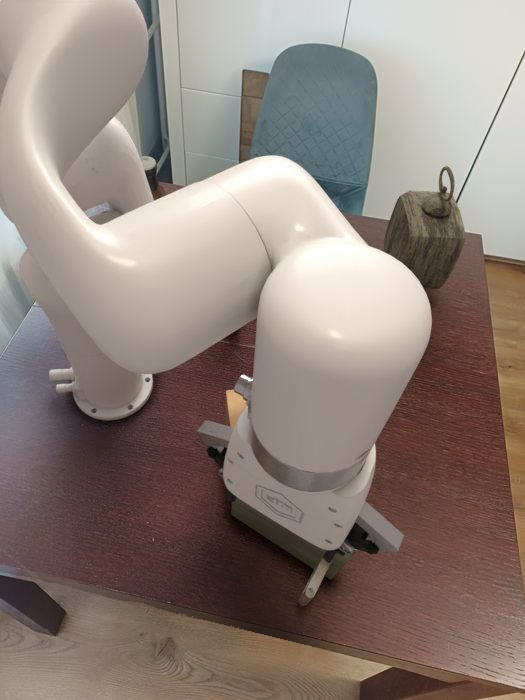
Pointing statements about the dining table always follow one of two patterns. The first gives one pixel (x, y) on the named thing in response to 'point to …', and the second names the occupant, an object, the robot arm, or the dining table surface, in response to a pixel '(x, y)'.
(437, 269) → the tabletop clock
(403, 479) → the dining table surface
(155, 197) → the sauce bottle
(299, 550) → the cupboard door
